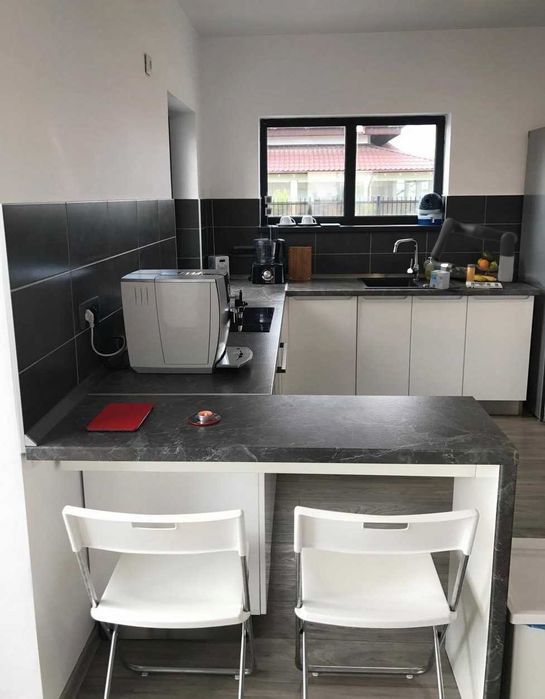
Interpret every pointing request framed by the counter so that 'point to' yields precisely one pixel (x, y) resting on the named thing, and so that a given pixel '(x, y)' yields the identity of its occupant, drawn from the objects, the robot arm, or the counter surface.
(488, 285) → the breaker board
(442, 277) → the light bulb box
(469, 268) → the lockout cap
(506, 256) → the robot arm
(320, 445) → the counter surface
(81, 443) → the counter surface
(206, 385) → the counter surface
